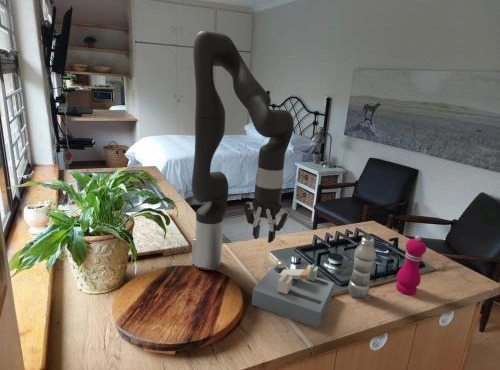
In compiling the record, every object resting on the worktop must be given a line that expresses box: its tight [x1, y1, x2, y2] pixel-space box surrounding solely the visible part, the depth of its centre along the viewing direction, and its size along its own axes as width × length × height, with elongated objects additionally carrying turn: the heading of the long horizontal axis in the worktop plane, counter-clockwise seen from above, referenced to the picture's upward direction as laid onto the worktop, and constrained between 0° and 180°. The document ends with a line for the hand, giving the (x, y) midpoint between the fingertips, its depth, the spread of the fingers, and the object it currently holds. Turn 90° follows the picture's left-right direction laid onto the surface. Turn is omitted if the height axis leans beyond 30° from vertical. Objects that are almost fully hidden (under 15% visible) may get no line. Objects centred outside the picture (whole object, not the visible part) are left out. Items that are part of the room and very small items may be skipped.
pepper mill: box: [395, 234, 427, 296], centre depth 115 cm, size 7×7×20 cm
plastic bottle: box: [347, 235, 377, 299], centre depth 110 cm, size 6×7×20 cm
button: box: [276, 259, 287, 271], centre depth 114 cm, size 3×3×2 cm
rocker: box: [279, 268, 311, 279], centre depth 108 cm, size 9×5×1 cm, turn 65°
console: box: [251, 264, 335, 329], centre depth 107 cm, size 20×17×6 cm
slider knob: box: [277, 274, 293, 294], centre depth 103 cm, size 3×4×4 cm
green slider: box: [305, 263, 319, 281], centre depth 110 cm, size 3×3×4 cm
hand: (263, 239), depth 103 cm, fingers open, 3 cm apart
